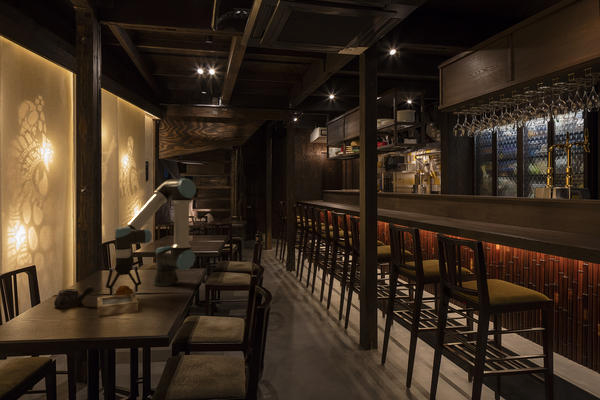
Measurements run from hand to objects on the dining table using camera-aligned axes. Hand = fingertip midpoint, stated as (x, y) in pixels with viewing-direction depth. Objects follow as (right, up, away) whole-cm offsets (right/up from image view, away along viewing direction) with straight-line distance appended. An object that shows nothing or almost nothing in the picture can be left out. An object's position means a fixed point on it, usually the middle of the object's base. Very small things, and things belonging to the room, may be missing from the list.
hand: (124, 299), depth 215 cm
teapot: (-20, -1, -11) cm, 23 cm away
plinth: (+4, 0, -16) cm, 16 cm away
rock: (0, -1, +1) cm, 1 cm away
